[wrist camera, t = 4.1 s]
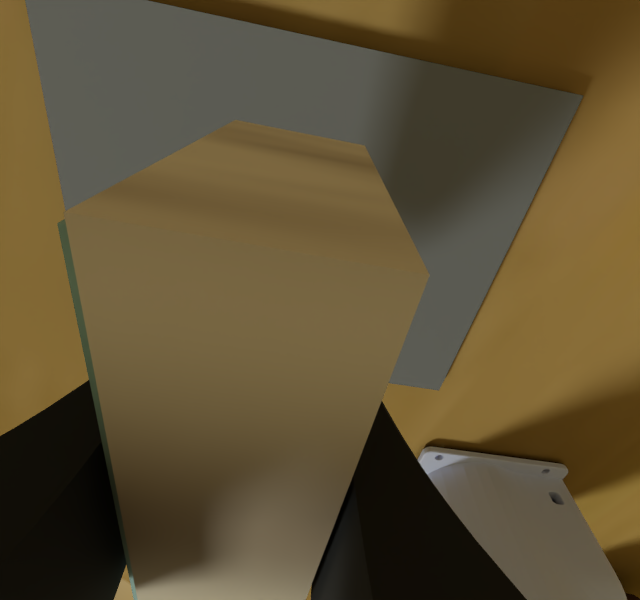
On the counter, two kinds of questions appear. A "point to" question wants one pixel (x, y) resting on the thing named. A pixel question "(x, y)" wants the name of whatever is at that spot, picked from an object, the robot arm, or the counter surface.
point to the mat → (308, 131)
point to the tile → (238, 351)
